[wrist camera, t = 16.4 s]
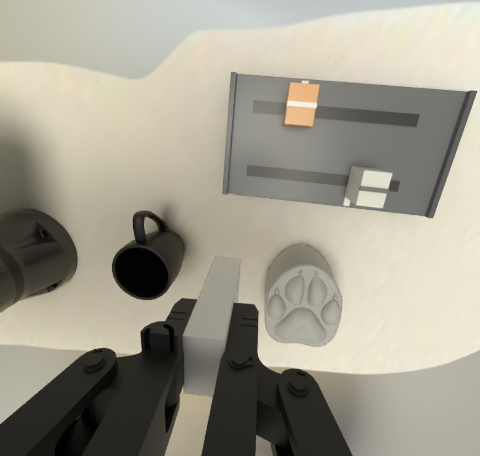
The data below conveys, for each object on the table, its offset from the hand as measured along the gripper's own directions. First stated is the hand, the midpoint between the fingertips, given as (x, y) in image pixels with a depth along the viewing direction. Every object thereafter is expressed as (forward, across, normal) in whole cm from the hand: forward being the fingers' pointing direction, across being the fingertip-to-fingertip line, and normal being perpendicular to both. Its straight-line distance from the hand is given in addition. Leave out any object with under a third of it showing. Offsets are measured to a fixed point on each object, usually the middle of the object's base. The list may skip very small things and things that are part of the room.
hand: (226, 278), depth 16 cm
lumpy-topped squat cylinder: (+25, +9, -14) cm, 30 cm away
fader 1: (+22, +5, +12) cm, 26 cm away
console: (+24, +11, +8) cm, 28 cm away
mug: (+26, -13, -8) cm, 30 cm away
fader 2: (+22, +15, +3) cm, 26 cm away
